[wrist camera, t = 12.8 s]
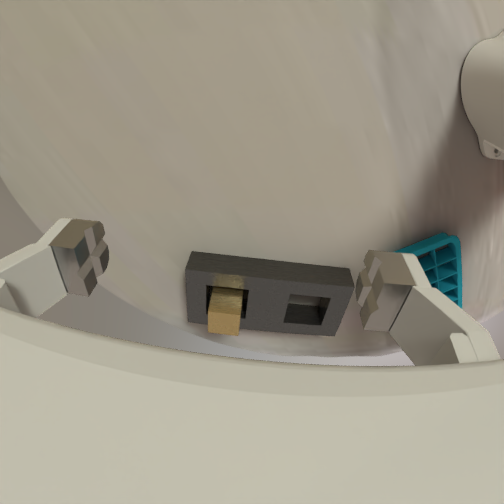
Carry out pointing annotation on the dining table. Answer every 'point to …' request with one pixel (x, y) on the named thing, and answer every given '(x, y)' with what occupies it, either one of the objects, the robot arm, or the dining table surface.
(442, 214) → the dining table surface
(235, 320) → the peg
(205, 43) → the dining table surface
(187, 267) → the block with square holes
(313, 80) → the dining table surface
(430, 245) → the ice cube tray
